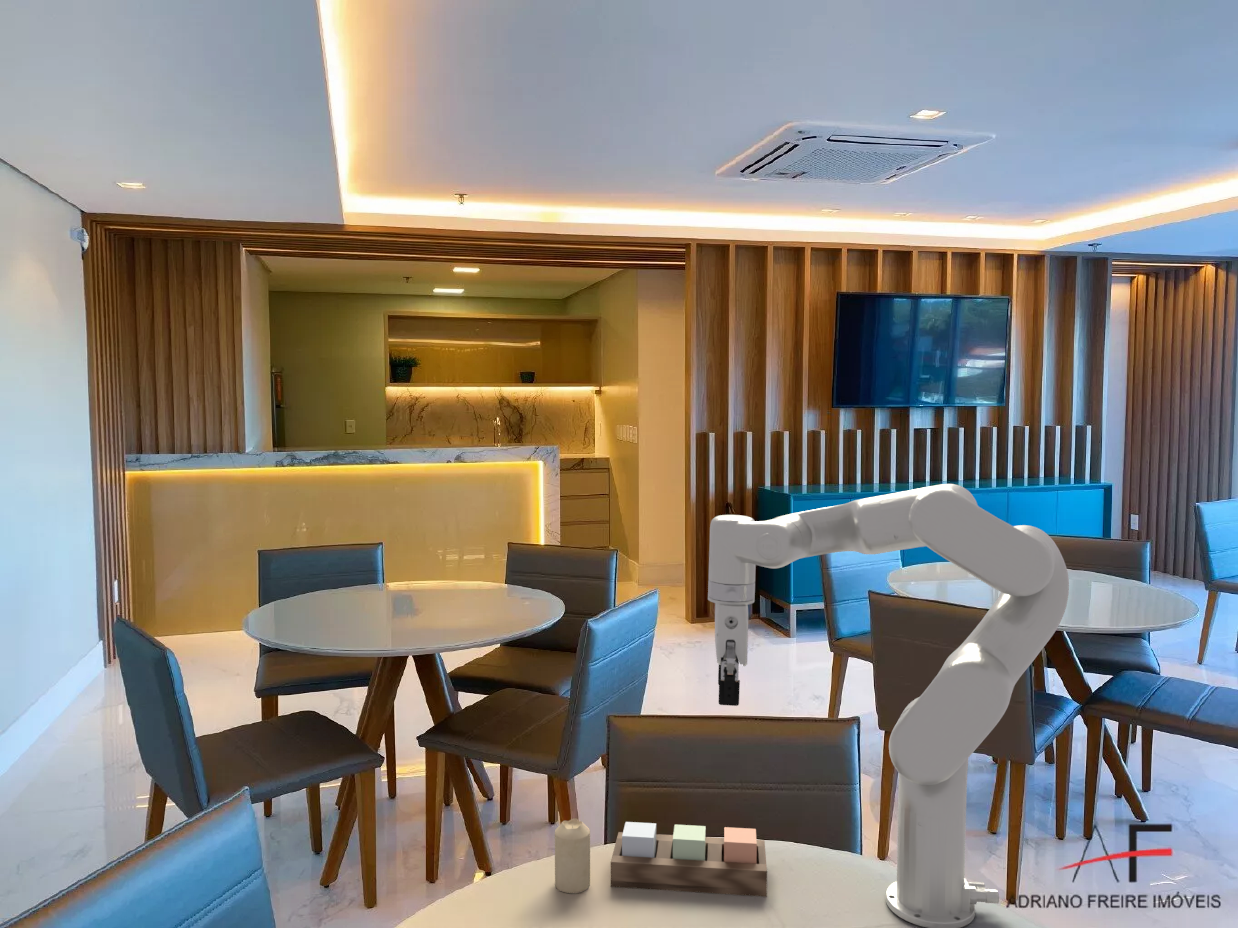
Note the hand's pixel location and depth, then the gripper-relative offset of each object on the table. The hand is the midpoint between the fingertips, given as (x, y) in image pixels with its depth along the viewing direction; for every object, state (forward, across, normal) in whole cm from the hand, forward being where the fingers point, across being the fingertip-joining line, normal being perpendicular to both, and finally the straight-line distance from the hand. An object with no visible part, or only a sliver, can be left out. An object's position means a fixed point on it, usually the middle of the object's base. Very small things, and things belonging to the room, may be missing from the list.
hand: (728, 694), depth 147 cm
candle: (+28, -11, +24) cm, 38 cm away
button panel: (+28, -6, +5) cm, 29 cm away
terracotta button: (+25, -6, -3) cm, 26 cm away
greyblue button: (+25, -6, +13) cm, 29 cm away
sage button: (+25, -6, +5) cm, 27 cm away
